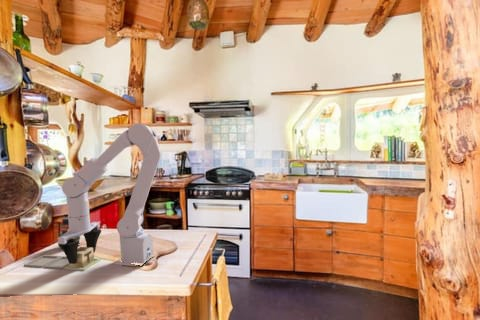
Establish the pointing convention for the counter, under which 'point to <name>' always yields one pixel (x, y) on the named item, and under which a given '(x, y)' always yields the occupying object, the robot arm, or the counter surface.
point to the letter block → (84, 257)
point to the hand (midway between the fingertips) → (82, 257)
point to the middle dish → (58, 263)
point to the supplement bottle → (65, 227)
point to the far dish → (42, 261)
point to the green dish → (85, 267)
